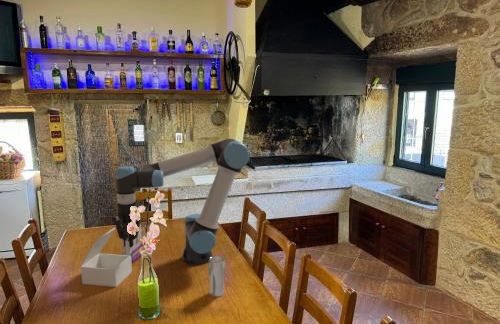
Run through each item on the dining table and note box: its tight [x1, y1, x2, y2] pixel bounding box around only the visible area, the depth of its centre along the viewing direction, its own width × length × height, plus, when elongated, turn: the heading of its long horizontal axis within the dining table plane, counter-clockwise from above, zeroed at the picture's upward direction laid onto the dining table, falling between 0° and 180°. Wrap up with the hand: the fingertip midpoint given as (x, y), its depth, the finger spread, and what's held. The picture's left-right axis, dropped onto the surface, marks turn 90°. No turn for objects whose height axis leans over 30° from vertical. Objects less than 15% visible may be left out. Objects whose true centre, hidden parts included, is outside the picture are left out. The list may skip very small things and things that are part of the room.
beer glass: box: [207, 255, 226, 298], centre depth 145 cm, size 7×7×15 cm
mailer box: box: [80, 252, 133, 288], centre depth 157 cm, size 16×14×8 cm
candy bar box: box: [121, 224, 143, 264], centre depth 176 cm, size 11×5×16 cm, turn 169°
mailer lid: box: [79, 227, 117, 267], centre depth 156 cm, size 16×14×1 cm
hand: (129, 253), depth 154 cm, fingers closed
